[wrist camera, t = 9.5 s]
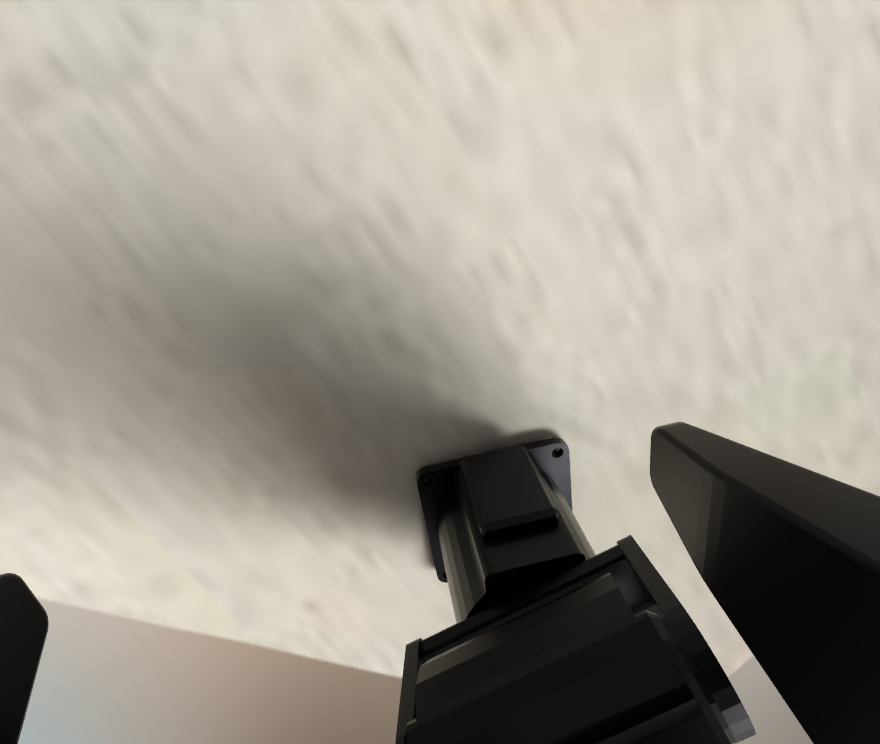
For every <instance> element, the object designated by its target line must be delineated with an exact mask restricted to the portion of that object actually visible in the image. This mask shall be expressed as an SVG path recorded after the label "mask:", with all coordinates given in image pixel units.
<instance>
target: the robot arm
mask: <svg viewBox="0 0 880 744" xmlns="http://www.w3.org/2000/svg"><path fill="white" fill-rule="evenodd" d="M556 448H560V449H559V450H558V451H557V452H552V451H553V450H554V449H556ZM427 477H433V478H432V479H431V480H429V481H425V480H424V479H425V478H427ZM650 477H651V481H652V484H653V487H654V489H655V491H656V493H657V495H658V496H659V498H660V500H661V502H662V504H663V506H664V508H665V510H666V511H667V513H668V515H669V517H670V519H671V521H672V523H673V525H674V527H675V528H676V530H677V532H678V534H679V536H680V538H681V540H682V542H683V544H684V545H685V547H686V549H687V551H688V553H689V555H690V557H691V559H692V561H693V562H694V564H695V566H696V568H697V570H698V571H699V573H700V575H701V577H702V578H703V580H704V581H705V583H706V585H707V586H708V588H709V589H710V591H711V592H712V594H713V595H714V597H715V598H716V600H717V601H718V603H719V604H720V606H721V607H722V609H723V610H724V612H725V613H726V615H727V616H728V618H729V619H730V621H731V622H732V624H733V625H734V626H735V628H736V629H737V631H738V632H739V634H740V635H741V637H742V638H743V640H744V641H745V643H746V644H747V646H748V647H749V649H750V650H751V652H752V653H753V655H754V656H755V658H756V659H757V660H758V662H759V663H760V665H761V666H762V668H763V669H764V671H765V672H766V674H767V675H768V677H769V678H770V680H771V681H772V683H773V684H774V686H775V687H776V689H777V690H778V692H779V693H780V694H781V696H782V697H783V699H784V700H785V702H786V703H787V705H788V706H789V708H790V709H791V711H792V712H793V714H794V715H795V717H796V718H797V720H798V721H799V723H800V724H801V726H802V727H803V729H804V730H805V731H806V733H807V734H808V736H809V737H810V739H811V740H812V742H813V743H814V744H880V496H877V495H874V494H872V493H869V492H866V491H864V490H861V489H858V488H856V487H853V486H850V485H848V484H845V483H843V482H840V481H837V480H835V479H832V478H829V477H827V476H824V475H821V474H819V473H816V472H813V471H811V470H808V469H806V468H803V467H800V466H798V465H795V464H792V463H790V462H787V461H784V460H782V459H779V458H776V457H774V456H771V455H769V454H766V453H763V452H761V451H758V450H755V449H753V448H750V447H747V446H745V445H742V444H739V443H737V442H734V441H732V440H729V439H726V438H724V437H721V436H718V435H716V434H713V433H710V432H708V431H705V430H702V429H700V428H697V427H695V426H692V425H689V424H687V423H683V422H676V423H672V424H667V425H663V426H658V427H656V428H655V429H654V430H653V432H652V435H651V454H650ZM416 481H417V486H418V490H419V495H420V499H421V504H422V509H423V513H424V518H425V522H426V527H427V531H428V536H429V540H430V545H431V549H432V554H433V558H434V563H435V567H436V572H437V576H438V579H439V580H440V581H442V582H445V583H446V582H448V585H449V590H450V594H451V599H452V604H453V608H454V613H455V618H456V622H457V624H455V625H453V626H450V627H448V628H446V629H444V630H442V631H440V632H438V633H436V634H434V635H432V636H430V637H428V638H426V639H424V640H422V639H421V638H419V639H417V640H415V641H413V642H411V643H409V644H407V645H406V651H405V660H404V669H403V678H402V688H401V697H400V706H399V715H398V725H397V733H396V744H733V743H737V742H740V741H742V740H744V739H746V738H749V737H751V736H753V735H755V734H756V733H755V730H754V727H753V725H752V723H751V720H750V718H749V716H748V714H747V712H746V711H745V709H744V706H743V705H742V703H741V701H740V699H739V697H738V695H737V694H736V692H735V690H734V688H733V686H732V684H731V683H730V681H729V679H728V677H727V676H726V674H725V672H724V671H723V669H722V667H721V665H720V664H719V662H718V660H717V659H716V657H715V655H714V654H713V652H712V650H711V649H710V647H709V646H708V644H707V642H706V641H705V639H704V638H703V636H702V634H701V633H700V631H699V630H698V628H697V627H696V625H695V623H694V622H693V620H692V619H691V617H690V616H689V614H688V613H687V612H686V610H685V609H684V607H683V606H682V604H681V603H680V602H679V600H678V599H677V598H676V596H675V595H674V593H673V592H672V591H671V589H670V588H669V587H668V585H667V584H666V582H665V581H664V580H663V578H662V577H661V576H660V574H659V573H658V572H657V570H656V569H655V567H654V566H653V565H652V563H651V562H650V561H649V559H648V558H647V556H646V555H645V554H644V552H643V551H642V550H641V548H640V547H639V546H638V544H637V543H636V541H635V540H634V539H633V537H632V536H631V535H630V536H628V537H626V538H624V539H622V540H619V541H617V544H618V545H616V546H614V547H612V548H610V549H608V550H606V551H604V552H602V553H600V554H598V555H595V553H594V551H593V549H592V548H591V546H590V544H589V542H588V540H587V538H586V537H585V535H584V533H583V531H582V529H581V527H580V526H579V524H578V522H577V520H576V518H575V516H574V514H573V513H572V498H571V479H570V459H569V449H568V446H567V445H566V443H565V441H564V440H563V439H561V438H551V439H547V440H542V441H538V442H533V443H529V444H524V445H519V446H514V447H510V448H505V449H501V450H496V451H492V452H487V453H483V454H478V455H474V456H469V457H465V458H461V459H457V460H452V461H448V462H443V463H439V464H434V465H430V466H426V467H423V468H421V469H420V470H419V471H418V472H417V474H416ZM47 632H48V616H47V614H46V611H45V609H44V608H43V606H42V605H41V604H40V602H39V601H38V600H37V598H36V597H35V596H34V594H33V593H32V592H31V590H30V589H29V588H28V586H27V585H26V583H25V582H24V581H23V579H22V578H21V577H20V576H18V575H16V574H13V573H6V574H2V575H0V744H17V743H18V740H19V737H20V733H21V730H22V726H23V722H24V719H25V715H26V711H27V707H28V703H29V700H30V696H31V692H32V688H33V684H34V681H35V677H36V673H37V670H38V665H39V662H40V658H41V654H42V651H43V647H44V643H45V639H46V635H47Z"/></svg>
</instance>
